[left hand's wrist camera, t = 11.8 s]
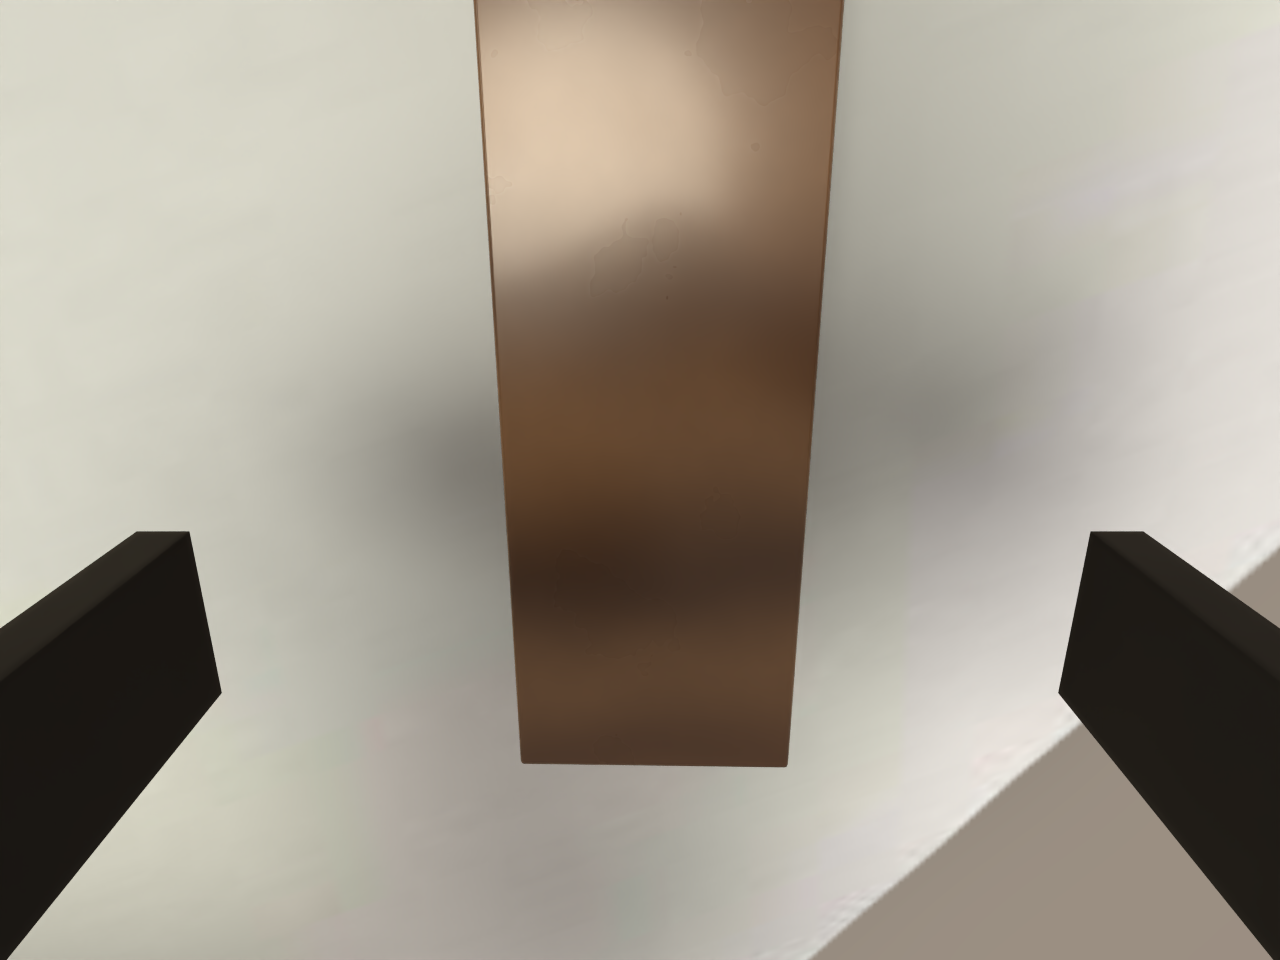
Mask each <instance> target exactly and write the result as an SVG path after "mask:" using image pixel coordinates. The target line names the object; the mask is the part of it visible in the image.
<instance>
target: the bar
mask: <svg viewBox="0 0 1280 960" xmlns="http://www.w3.org/2000/svg"><path fill="white" fill-rule="evenodd" d="M843 12H844V0H474V16H475V32H476V48H477V64H478V80H479V96H480V112H481V128H482V144H483V160H484V176H485V192H486V208H487V224H488V240H489V256H490V272H491V288H492V304H493V321H494V337H495V353H496V369H497V385H498V401H499V417H500V433H501V449H502V465H503V481H504V497H505V513H506V529H507V545H508V561H509V577H510V593H511V609H512V625H513V641H514V657H515V674H516V690H517V706H518V722H519V738H520V754H521V762H522V763H524V764H585V765H658V766H731V767H787V764H788V755H789V741H790V728H791V714H792V701H793V687H794V674H795V660H796V647H797V633H798V620H799V606H800V593H801V579H802V566H803V552H804V539H805V525H806V512H807V498H808V485H809V471H810V458H811V444H812V431H813V417H814V404H815V390H816V377H817V363H818V350H819V336H820V323H821V309H822V296H823V282H824V269H825V255H826V242H827V228H828V215H829V201H830V188H831V174H832V161H833V147H834V134H835V120H836V107H837V93H838V80H839V66H840V53H841V39H842V26H843Z"/></svg>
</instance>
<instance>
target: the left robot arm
mask: <svg viewBox="0 0 1280 960" xmlns="http://www.w3.org/2000/svg"><path fill="white" fill-rule="evenodd" d="M221 693H222V692H221V687H220V682H219V677H218V672H217V667H216V662H215V657H214V652H213V647H212V642H211V637H210V632H209V627H208V622H207V617H206V612H205V607H204V602H203V597H202V592H201V587H200V582H199V577H198V572H197V567H196V562H195V557H194V552H193V547H192V542H191V537H190V532H135V533H134V534H133V535H131V536H130V537H128V538H127V539H125V540H124V541H123V542H121V543H120V544H118V545H117V546H116V547H114V548H113V549H111V550H110V551H109V552H107V553H106V554H104V555H103V556H102V557H100V558H99V559H97V560H96V561H95V562H93V563H92V564H90V565H89V566H87V567H86V568H85V569H83V570H82V571H80V572H79V573H78V574H76V575H75V576H73V577H72V578H71V579H69V580H68V581H66V582H65V583H64V584H62V585H61V586H59V587H58V588H57V589H55V590H54V591H52V592H51V593H49V594H48V595H47V596H45V597H44V598H42V599H41V600H40V601H38V602H37V603H35V604H34V605H33V606H31V607H30V608H28V609H27V610H26V611H24V612H23V613H21V614H20V615H19V616H17V617H16V618H14V619H13V620H11V621H10V622H9V623H7V624H6V625H4V626H3V627H2V628H0V960H7V959H8V957H9V956H10V955H11V954H12V952H13V951H14V950H15V949H16V947H17V946H18V945H19V944H20V943H21V941H22V940H23V939H24V938H25V936H26V935H27V934H28V933H29V931H30V930H31V929H32V928H33V926H34V925H35V924H36V923H37V921H38V920H39V919H40V918H41V916H42V915H43V914H44V913H45V912H46V910H47V909H48V908H49V907H50V905H51V904H52V903H53V902H54V900H55V899H56V898H57V897H58V895H59V894H60V893H61V892H62V890H63V889H64V888H65V887H66V885H67V884H68V883H69V882H70V880H71V879H72V878H73V877H74V876H75V874H76V873H77V872H78V871H79V869H80V868H81V867H82V866H83V864H84V863H85V862H86V861H87V859H88V858H89V857H90V856H91V854H92V853H93V852H94V851H95V849H96V848H97V847H98V846H99V845H100V843H101V842H102V841H103V840H104V838H105V837H106V836H107V835H108V833H109V832H110V831H111V830H112V828H113V827H114V826H115V825H116V823H117V822H118V821H119V820H120V818H121V817H122V816H123V815H124V814H125V812H126V811H127V810H128V809H129V807H130V806H131V805H132V804H133V802H134V801H135V800H136V799H137V797H138V796H139V795H140V794H141V792H142V791H143V790H144V789H145V787H146V786H147V785H148V784H149V782H150V781H151V780H152V779H153V778H154V776H155V775H156V774H157V773H158V771H159V770H160V769H161V768H162V766H163V765H164V764H165V763H166V761H167V760H168V759H169V758H170V756H171V755H172V754H173V753H174V751H175V750H176V749H177V748H178V747H179V745H180V744H181V743H182V742H183V740H184V739H185V738H186V737H187V735H188V734H189V733H190V732H191V730H192V729H193V728H194V727H195V725H196V724H197V723H198V722H199V720H200V719H201V718H202V717H203V715H204V714H205V713H206V712H207V711H208V709H209V708H210V707H211V706H212V704H213V703H214V702H215V701H216V699H217V698H218V697H219V696H220V694H221ZM1058 693H1059V694H1060V696H1061V697H1062V698H1063V699H1064V701H1065V702H1066V703H1067V704H1068V706H1069V707H1070V708H1071V709H1072V711H1073V712H1074V713H1075V714H1076V715H1077V717H1078V718H1079V719H1080V720H1081V722H1082V723H1083V724H1084V725H1085V727H1086V728H1087V729H1088V730H1089V732H1090V733H1091V734H1092V735H1093V737H1094V738H1095V739H1096V740H1097V742H1098V743H1099V744H1100V745H1101V746H1102V748H1103V749H1104V750H1105V751H1106V753H1107V754H1108V755H1109V756H1110V758H1111V759H1112V760H1113V761H1114V763H1115V764H1116V765H1117V766H1118V768H1119V769H1120V770H1121V771H1122V773H1123V774H1124V775H1125V776H1126V777H1127V779H1128V780H1129V781H1130V782H1131V784H1132V785H1133V786H1134V787H1135V789H1136V790H1137V791H1138V792H1139V794H1140V795H1141V796H1142V797H1143V799H1144V800H1145V801H1146V802H1147V804H1148V805H1149V806H1150V807H1151V809H1152V810H1153V811H1154V812H1155V814H1156V815H1157V816H1158V817H1159V818H1160V820H1161V821H1162V822H1163V823H1164V825H1165V826H1166V827H1167V828H1168V830H1169V831H1170V832H1171V833H1172V835H1173V836H1174V837H1175V838H1176V840H1177V841H1178V842H1179V843H1180V845H1181V846H1182V847H1183V848H1184V849H1185V851H1186V852H1187V853H1188V854H1189V856H1190V857H1191V858H1192V859H1193V861H1194V862H1195V863H1196V864H1197V866H1198V867H1199V868H1200V869H1201V870H1202V872H1203V873H1204V874H1205V876H1206V877H1207V878H1208V879H1209V880H1210V882H1211V883H1212V884H1213V885H1214V887H1215V888H1216V889H1217V890H1218V892H1219V893H1220V894H1221V895H1222V897H1223V898H1224V899H1225V900H1226V902H1227V903H1228V904H1229V905H1230V907H1231V908H1232V909H1233V910H1234V911H1235V913H1236V914H1237V915H1238V916H1239V918H1240V919H1241V920H1242V921H1243V923H1244V924H1245V925H1246V926H1247V928H1248V929H1249V930H1250V931H1251V933H1252V934H1253V935H1254V936H1255V938H1256V939H1257V940H1258V941H1259V942H1260V944H1261V945H1262V946H1263V947H1264V949H1265V950H1266V951H1267V952H1268V954H1269V955H1270V956H1271V957H1272V959H1273V960H1280V628H1278V627H1277V626H1276V625H1274V624H1273V623H1271V622H1270V621H1269V620H1267V619H1266V618H1264V617H1263V616H1261V615H1260V614H1259V613H1257V612H1256V611H1254V610H1253V609H1252V608H1250V607H1249V606H1247V605H1246V604H1244V603H1243V602H1242V601H1240V600H1239V599H1238V598H1236V597H1235V596H1233V595H1232V594H1231V593H1229V592H1228V591H1226V590H1225V589H1223V588H1222V587H1221V586H1219V585H1218V584H1216V583H1215V582H1214V581H1212V580H1211V579H1209V578H1208V577H1207V576H1205V575H1204V574H1202V573H1201V572H1200V571H1198V570H1197V569H1195V568H1194V567H1192V566H1191V565H1190V564H1188V563H1187V562H1185V561H1184V560H1183V559H1181V558H1180V557H1178V556H1177V555H1176V554H1174V553H1173V552H1171V551H1170V550H1169V549H1167V548H1166V547H1164V546H1163V545H1162V544H1160V543H1159V542H1157V541H1156V540H1154V539H1153V538H1152V537H1150V536H1149V535H1147V534H1146V533H1145V532H1090V537H1089V542H1088V547H1087V552H1086V557H1085V562H1084V567H1083V572H1082V577H1081V582H1080V587H1079V592H1078V597H1077V602H1076V607H1075V612H1074V617H1073V622H1072V627H1071V632H1070V637H1069V642H1068V647H1067V652H1066V657H1065V662H1064V667H1063V672H1062V677H1061V682H1060V687H1059V692H1058Z"/></svg>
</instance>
